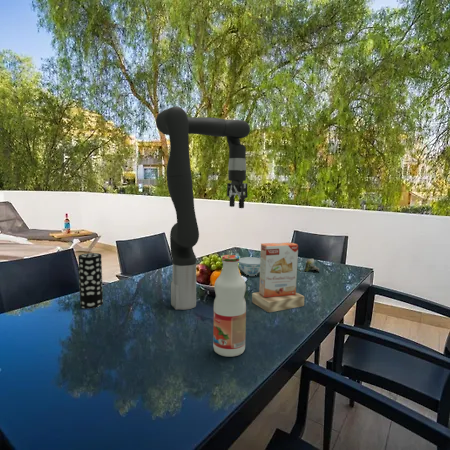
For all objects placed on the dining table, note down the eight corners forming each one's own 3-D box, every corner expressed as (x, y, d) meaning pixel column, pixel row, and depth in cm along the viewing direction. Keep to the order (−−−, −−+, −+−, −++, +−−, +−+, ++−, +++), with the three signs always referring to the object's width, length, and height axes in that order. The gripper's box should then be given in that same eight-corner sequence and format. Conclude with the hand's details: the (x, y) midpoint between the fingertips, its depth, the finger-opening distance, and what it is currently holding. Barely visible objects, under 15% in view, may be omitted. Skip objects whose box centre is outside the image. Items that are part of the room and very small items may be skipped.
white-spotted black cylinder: (75, 306, 132) (73, 256, 130) (92, 299, 140) (91, 252, 137) (90, 310, 128) (88, 258, 126) (107, 303, 136) (105, 254, 133)
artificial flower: (279, 269, 198) (282, 253, 199) (318, 278, 190) (322, 260, 191) (276, 269, 190) (280, 251, 191) (317, 278, 182) (321, 259, 183)
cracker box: (264, 298, 132) (266, 245, 129) (258, 293, 138) (260, 243, 135) (296, 295, 136) (298, 244, 134) (289, 290, 142) (291, 241, 139)
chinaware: (233, 276, 176) (234, 262, 175) (240, 269, 191) (241, 256, 190) (262, 279, 172) (262, 264, 171) (267, 272, 186) (267, 258, 185)
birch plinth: (268, 312, 128) (268, 302, 128) (252, 302, 139) (252, 293, 138) (304, 305, 136) (304, 296, 135) (286, 296, 146) (286, 287, 146)
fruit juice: (247, 356, 96) (249, 259, 92) (214, 358, 95) (215, 260, 91) (242, 341, 105) (244, 252, 101) (212, 342, 104) (213, 253, 100)
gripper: (222, 169, 149) (221, 206, 151) (237, 168, 136) (236, 208, 138) (237, 170, 152) (236, 206, 154) (253, 169, 140) (252, 208, 142)
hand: (236, 207), depth 146 cm, fingers open, 8 cm apart
